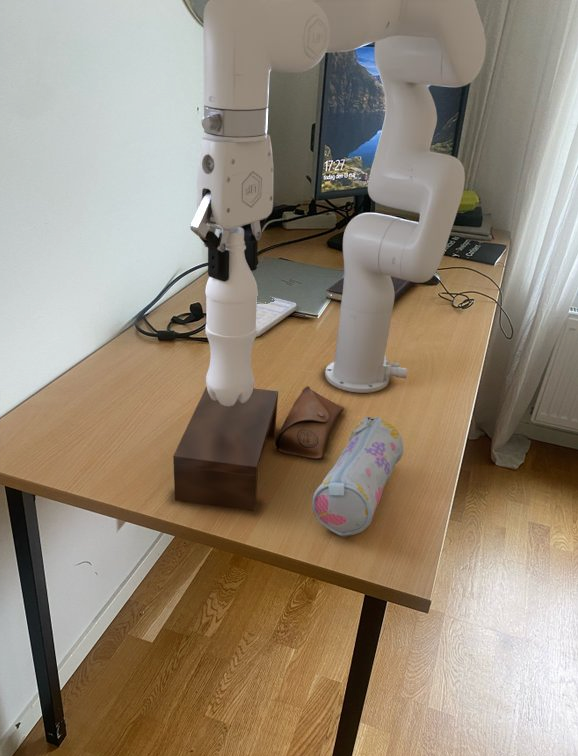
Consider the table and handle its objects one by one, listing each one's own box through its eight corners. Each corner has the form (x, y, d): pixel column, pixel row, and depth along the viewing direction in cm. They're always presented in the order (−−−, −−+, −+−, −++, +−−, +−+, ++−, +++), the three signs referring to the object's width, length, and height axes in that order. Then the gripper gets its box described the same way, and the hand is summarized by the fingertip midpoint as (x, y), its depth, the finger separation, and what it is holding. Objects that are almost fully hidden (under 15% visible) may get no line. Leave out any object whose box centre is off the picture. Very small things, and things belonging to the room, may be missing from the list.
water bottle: (218, 414, 95) (219, 241, 81) (198, 392, 101) (195, 225, 86) (262, 403, 98) (270, 234, 84) (240, 382, 103) (244, 219, 89)
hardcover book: (325, 298, 166) (326, 289, 164) (359, 272, 182) (360, 264, 181) (386, 312, 159) (388, 303, 158) (415, 284, 176) (417, 275, 175)
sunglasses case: (324, 459, 107) (307, 425, 105) (287, 469, 110) (269, 436, 108) (345, 406, 121) (330, 375, 119) (311, 416, 125) (296, 386, 122)
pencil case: (348, 455, 109) (355, 405, 104) (400, 469, 106) (411, 419, 101) (305, 531, 93) (311, 477, 88) (365, 550, 90) (375, 495, 85)
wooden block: (275, 431, 114) (278, 391, 110) (254, 511, 96) (256, 466, 92) (207, 423, 116) (207, 383, 111) (174, 500, 98) (173, 456, 94)
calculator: (206, 324, 151) (206, 316, 150) (250, 297, 165) (250, 290, 164) (257, 338, 145) (257, 330, 144) (298, 309, 159) (298, 302, 158)
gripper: (209, 136, 71) (209, 298, 81) (303, 120, 82) (293, 264, 92) (161, 126, 75) (167, 282, 85) (256, 113, 86) (251, 252, 96)
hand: (232, 271), depth 88 cm, fingers closed on water bottle, 4 cm apart
